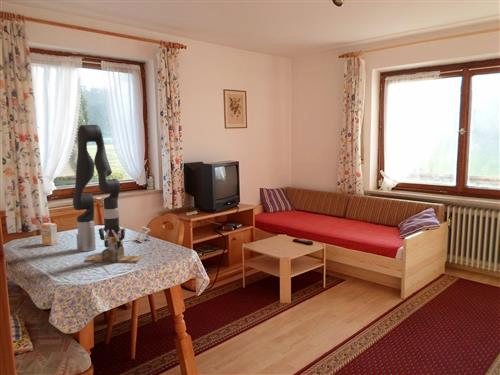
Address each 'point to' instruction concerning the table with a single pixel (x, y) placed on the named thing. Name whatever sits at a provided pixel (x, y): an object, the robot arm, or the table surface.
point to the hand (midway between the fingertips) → (112, 247)
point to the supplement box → (49, 234)
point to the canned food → (114, 239)
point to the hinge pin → (112, 246)
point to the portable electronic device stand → (144, 234)
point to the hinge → (113, 257)
